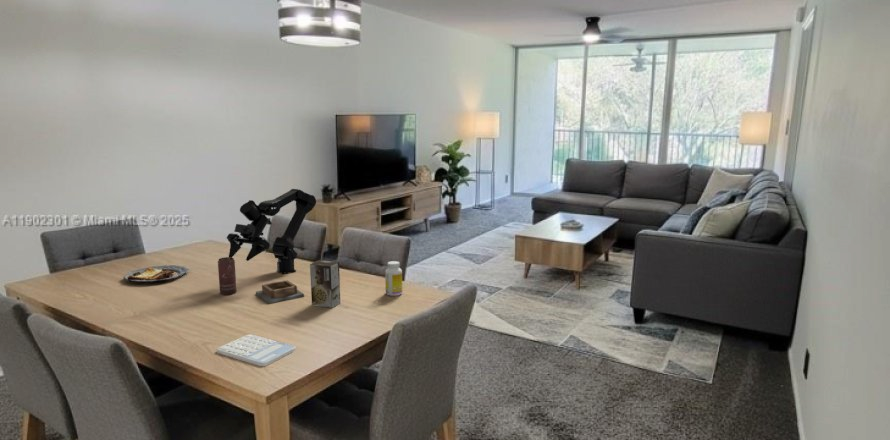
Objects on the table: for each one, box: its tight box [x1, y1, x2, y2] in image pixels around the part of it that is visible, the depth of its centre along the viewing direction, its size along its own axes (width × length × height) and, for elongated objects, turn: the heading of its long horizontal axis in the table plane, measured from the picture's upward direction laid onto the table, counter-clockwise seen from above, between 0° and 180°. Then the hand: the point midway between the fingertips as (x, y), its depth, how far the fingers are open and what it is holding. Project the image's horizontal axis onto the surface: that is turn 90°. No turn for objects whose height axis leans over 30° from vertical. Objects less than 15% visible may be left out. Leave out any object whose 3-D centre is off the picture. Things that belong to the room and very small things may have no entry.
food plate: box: [123, 264, 190, 283], centre depth 233 cm, size 25×23×4 cm
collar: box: [255, 279, 305, 305], centre depth 211 cm, size 14×14×4 cm
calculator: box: [216, 333, 297, 367], centre depth 162 cm, size 13×20×2 cm, turn 62°
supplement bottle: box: [384, 260, 403, 297], centre depth 214 cm, size 7×7×13 cm
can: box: [217, 256, 237, 296], centre depth 213 cm, size 6×6×14 cm
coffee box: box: [309, 259, 341, 309], centre depth 201 cm, size 9×6×16 cm
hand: (238, 259), depth 217 cm, fingers open, 9 cm apart
